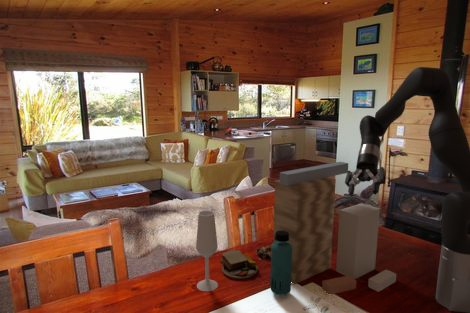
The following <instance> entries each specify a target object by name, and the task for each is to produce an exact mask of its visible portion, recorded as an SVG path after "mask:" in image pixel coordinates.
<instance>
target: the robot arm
mask: <svg viewBox="0 0 470 313" xmlns="http://www.w3.org/2000/svg"><path fill="white" fill-rule="evenodd" d="M450 80H451V79H450V77H449V74H448V72H447V71H446V70H444V69H442V68H439V67H430V66H429V67H428V66H419V67H416V68H414V69H412V71H411V72H409V74H408V75H407V76H406V77H405V79H404V80H403V81H402V83H401V84H400V85H399V87H398V88H397V89H396V91H395V92H394V93H393V95H392V97H391V98H390V99H389V100H388V101H387V102H386V103H385V104H384V105H382V106H381V107H380V108H379V109H378V110H377V111H376V112H375V114H374V116H373V115H370V114H369V115H365V116H364V117H362V118H361V120H360V123H359V133H360V140H361V141H360V148H359V151H358V154H357V155H358V156H357V159H356V160H357V161H356V166H355V167H356V169H355V170H354V171H351V170H349V169H348V173H346V176H345V181H344V185H346V187H347V188H348V191H347V193H348V194H349V196H352V197H354V195H355V189H356V186H357V185H359V184H360V183H364V182H371V181H372V182H373V184H372V193H373V195H375V196H376V195H377V194H378V193H379V188H380V186H381V185H385V184H386V180H387V178H386V176H387V170H386V169H385V168H384V167H383V166H381V167H380V168H378V166H379V160H380V148H381V138H382V137H383V136H384V135H386V133H387V131H388V129H389V128H390V126H391V124H393V123H394V122H395V121H396V120H398V119H399V118H400V117H401V116H402V115H403V113H404V112H405V108H406V102H407V101H409V100H411V99H412V98H413V97H416V96H418V97H426V98H427V97H429V98H430V100H431V101H432V106H433V109H434V113H433V117H432V120H431V122H430V125H429V128H428V139H429V142H430V145H431V149H432V152H433V154H434V156H435V157H436V159H437V160H438V161H439V162H440V163H441V164H442V165H443V166H444V168H446V169H447V170H448V171H449V172H450V173H451V174H452V175H453V176H454V178H455V179H456V181H457V182H458V184H459V186H460V188H461V191H460V192H459V191H458V192H450V193H448V194H447V195H446V196H445V197H444V199H443V202H442V208H441V224H440V225H441V226H440V232H441V233H440V234H441V237H442V239H441V246H440V248H441V249H440V256H439V257H440V258H439V263H438V272H437V280H436V282H437V283H436V290H435V297H434V298H435V300H436V302H437V303H438V304H440V305H441V306H443V307H444V308H446V309H447V310H448V311H450V312H456V313H457V312H458V313H470V234H469V233H468V228H469V227H470V144H469V141H468V138H467V135H466V132H465V130H464V127H463V125H462V122H461V119H460V116H459V112H458V109H457V106H456V102H455V99H454V94H453V87H452V83H451V81H450ZM378 174H379V178H378V179H377V178H376V176H377V175H378Z"/></svg>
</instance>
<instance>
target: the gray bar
mask: <svg viewBox="0 0 470 313" xmlns="http://www.w3.org/2000/svg"><path fill="white" fill-rule="evenodd" d="M348 171H349V163H348V162H343V161H337V162H332V163H331V162H330V163H325V164H321V165H315V166H314V165H313V166H310V167H309V166H308V167H303V168H302V167H301V168H299V169H297V168H296V169H292V170H287V171H286V170H285V171H281V172H279V180H280V184H283V185H287V186H288V185H293V184H298V183H302V182H307V181H312V180H317V179H321V178H326V177H330V178H332V177H335V176H340V175H343V174H344V175H345V174H347V173H348Z"/></svg>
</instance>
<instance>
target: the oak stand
mask: <svg viewBox="0 0 470 313" xmlns="http://www.w3.org/2000/svg"><path fill="white" fill-rule="evenodd" d="M336 180H337V179H336V178H333V177H326V178H321V179H317V180H312V181H307V182H302V183H298V184H293V185H288V186H287V185H283V184H280V179H278V180H277V179H276V180H274V202H273V203H274V206H273V207H274V208H273V242H272V244H273V243H274V242H276V241H277V240H275V234H276V232H277V231H280V230H283V231H287V232H288V233H289V241H287V242H288V243H290V244H291V245H292V265H291V269H292V270H291V271H292V272H291V282H292V283H296V284H298V283H301V282H303V281H305V280H307V279H309V278H312V277H314V276H316V275H318V274H320V273H322V272H325V271H327V270H329V269H331V268H332V267H331V264H332V248H333V247H332V246H333V230H334V215H335V214H334V213H335V197H336V196H335V195H336ZM292 283H291V284H292Z"/></svg>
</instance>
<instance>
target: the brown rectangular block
mask: <svg viewBox="0 0 470 313" xmlns="http://www.w3.org/2000/svg"><path fill="white" fill-rule="evenodd" d="M321 289H322V290H323V291H324V292H325V291H326V292H325V294H327V293H328V294H331V295H334V294H335V295H336V294H338V293H344V292H348V291H352V290H356V289H357V280H356V279H354V278H352V277H351V276H350V275H348V276H345V275H343V276H338V277H335V278H330V279H329V278H328V279H325V280H322V286H321ZM328 294H327V295H328Z"/></svg>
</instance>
